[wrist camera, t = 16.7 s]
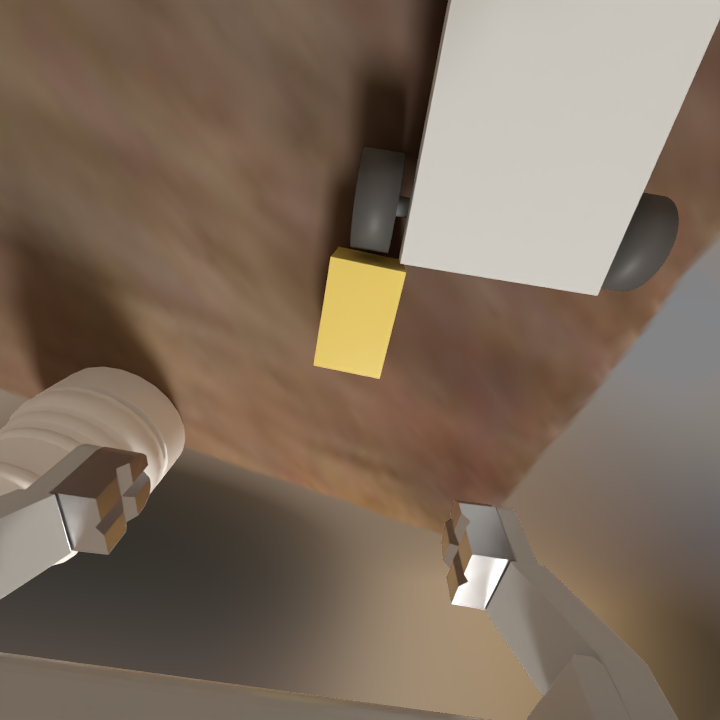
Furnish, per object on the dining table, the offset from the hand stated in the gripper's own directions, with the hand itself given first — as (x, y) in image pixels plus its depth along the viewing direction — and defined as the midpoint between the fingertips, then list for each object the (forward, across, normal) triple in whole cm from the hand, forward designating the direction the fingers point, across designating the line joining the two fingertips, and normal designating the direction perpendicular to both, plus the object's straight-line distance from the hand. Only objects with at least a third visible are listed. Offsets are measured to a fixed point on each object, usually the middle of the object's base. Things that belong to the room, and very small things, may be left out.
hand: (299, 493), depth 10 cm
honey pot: (+22, -21, -17) cm, 35 cm away
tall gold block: (+22, +1, -1) cm, 22 cm away
